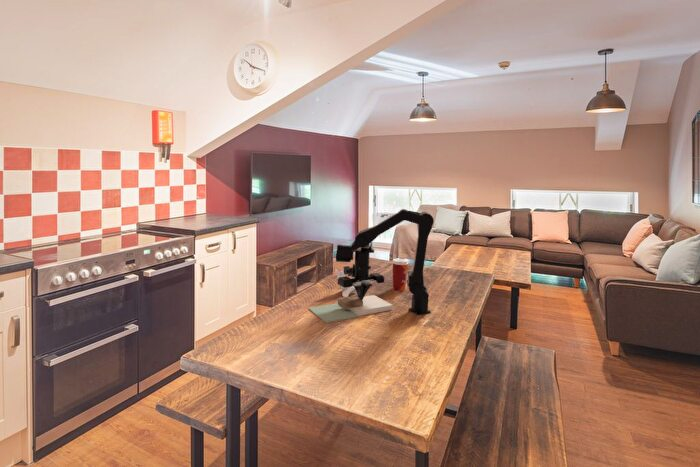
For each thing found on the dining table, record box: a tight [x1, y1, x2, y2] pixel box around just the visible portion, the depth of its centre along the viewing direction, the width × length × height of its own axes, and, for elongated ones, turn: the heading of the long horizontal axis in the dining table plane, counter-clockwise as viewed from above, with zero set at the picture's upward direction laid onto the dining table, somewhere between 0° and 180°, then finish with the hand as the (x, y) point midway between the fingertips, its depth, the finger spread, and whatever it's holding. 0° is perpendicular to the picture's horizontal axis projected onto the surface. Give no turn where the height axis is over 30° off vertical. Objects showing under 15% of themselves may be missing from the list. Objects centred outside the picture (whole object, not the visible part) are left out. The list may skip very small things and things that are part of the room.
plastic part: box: [334, 268, 357, 298], centre depth 184 cm, size 8×10×12 cm
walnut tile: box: [337, 296, 363, 309], centre depth 163 cm, size 8×6×2 cm
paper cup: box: [391, 258, 409, 292], centre depth 192 cm, size 8×8×14 cm
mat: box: [308, 302, 360, 323], centre depth 160 cm, size 16×14×1 cm
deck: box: [348, 294, 393, 317], centre depth 167 cm, size 14×16×2 cm
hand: (360, 300), depth 165 cm, fingers closed
